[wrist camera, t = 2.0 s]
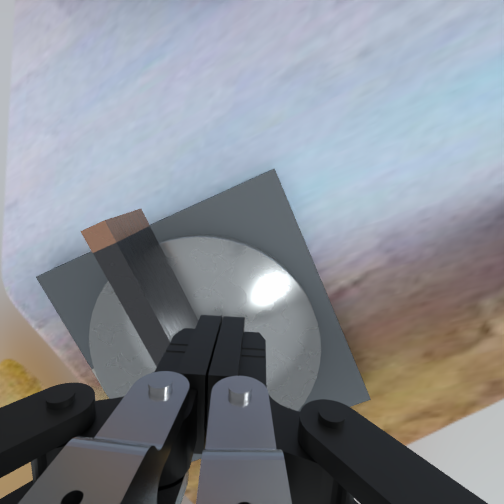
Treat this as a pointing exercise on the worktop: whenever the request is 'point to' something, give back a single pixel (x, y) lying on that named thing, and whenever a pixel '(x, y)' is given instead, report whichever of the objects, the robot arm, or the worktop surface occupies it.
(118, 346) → the rotary knob
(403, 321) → the worktop surface
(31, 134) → the worktop surface
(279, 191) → the plinth
